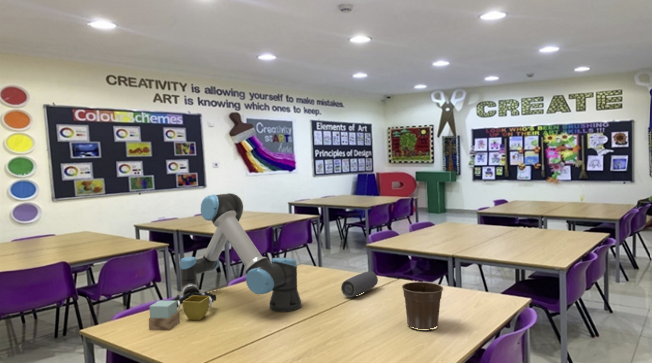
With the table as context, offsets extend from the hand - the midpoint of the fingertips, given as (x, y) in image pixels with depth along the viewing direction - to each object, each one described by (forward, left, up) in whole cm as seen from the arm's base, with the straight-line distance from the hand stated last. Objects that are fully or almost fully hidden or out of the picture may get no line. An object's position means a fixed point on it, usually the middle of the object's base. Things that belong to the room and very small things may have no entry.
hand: (195, 305), depth 197 cm
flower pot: (0, 0, -6) cm, 6 cm away
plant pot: (-98, +4, -6) cm, 99 cm away
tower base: (+10, +10, -6) cm, 15 cm away
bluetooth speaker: (-70, -41, -6) cm, 82 cm away
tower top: (+10, +10, -1) cm, 14 cm away
